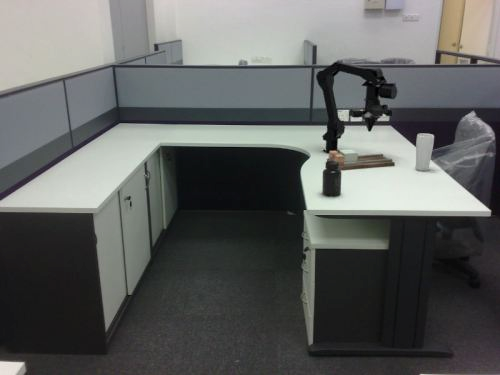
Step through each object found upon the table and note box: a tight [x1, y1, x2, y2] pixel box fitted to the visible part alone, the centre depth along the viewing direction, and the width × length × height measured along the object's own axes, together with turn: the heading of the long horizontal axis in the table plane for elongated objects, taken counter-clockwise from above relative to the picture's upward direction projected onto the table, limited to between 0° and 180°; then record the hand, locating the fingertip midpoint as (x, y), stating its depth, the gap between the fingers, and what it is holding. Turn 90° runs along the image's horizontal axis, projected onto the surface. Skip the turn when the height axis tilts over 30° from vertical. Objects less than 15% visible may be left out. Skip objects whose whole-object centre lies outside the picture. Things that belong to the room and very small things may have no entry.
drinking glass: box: [415, 133, 435, 172], centre depth 196 cm, size 7×7×15 cm
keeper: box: [338, 149, 359, 163], centre depth 206 cm, size 6×6×4 cm
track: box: [326, 151, 395, 171], centre depth 208 cm, size 14×26×6 cm, turn 102°
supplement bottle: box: [321, 160, 342, 197], centre depth 171 cm, size 7×7×12 cm
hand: (369, 131), depth 213 cm, fingers closed
